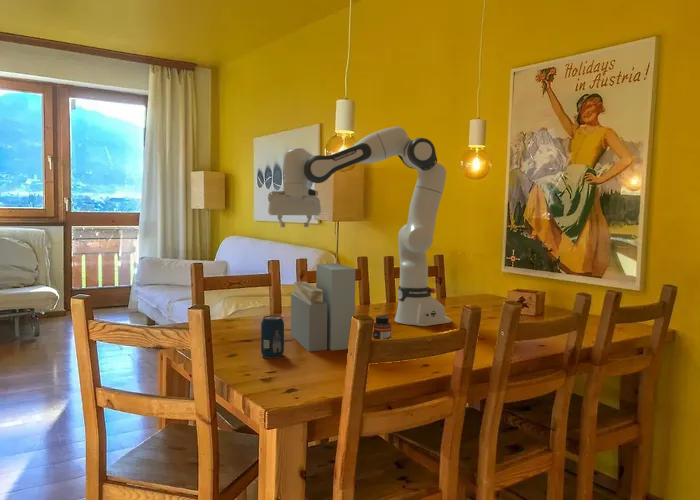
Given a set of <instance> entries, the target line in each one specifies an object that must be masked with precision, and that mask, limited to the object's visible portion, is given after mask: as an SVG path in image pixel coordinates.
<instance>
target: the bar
mask: <svg viewBox="0 0 700 500" xmlns="http://www.w3.org/2000/svg"><path fill="white" fill-rule="evenodd" d="M293 293H294V294H296V295H298V296H299V297H301V298H302V299H304V300H306V301H307V302H309V303H311V304H314V303H323V290H321V289H319V288H317V287H316V285H313V284H311V283H309V282H307V281H294V282H293Z"/></svg>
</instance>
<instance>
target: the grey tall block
mask: <svg viewBox="0 0 700 500" xmlns="http://www.w3.org/2000/svg"><path fill="white" fill-rule="evenodd" d="M315 268H316V271H315V273H316V276H315V277H316V279H315V280H316V281H315V282H316V284H315V287H317V288H319V289H321V290H323V301H324V302H325V303H327V304H328V307H327V350H328V349H329V350H330V351H340V350H341V351H342V350H348V349H347V347H348V341H349V334H350V327H351V318H352V316H355V317H356V315H355V314H356V271H357V269H356V268H354V267H351V266H348V265H346V264H342V263H337V262H336V263H316V266H315Z"/></svg>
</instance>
